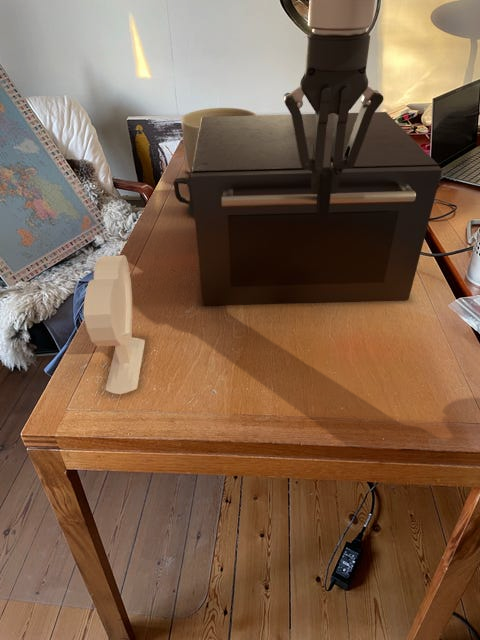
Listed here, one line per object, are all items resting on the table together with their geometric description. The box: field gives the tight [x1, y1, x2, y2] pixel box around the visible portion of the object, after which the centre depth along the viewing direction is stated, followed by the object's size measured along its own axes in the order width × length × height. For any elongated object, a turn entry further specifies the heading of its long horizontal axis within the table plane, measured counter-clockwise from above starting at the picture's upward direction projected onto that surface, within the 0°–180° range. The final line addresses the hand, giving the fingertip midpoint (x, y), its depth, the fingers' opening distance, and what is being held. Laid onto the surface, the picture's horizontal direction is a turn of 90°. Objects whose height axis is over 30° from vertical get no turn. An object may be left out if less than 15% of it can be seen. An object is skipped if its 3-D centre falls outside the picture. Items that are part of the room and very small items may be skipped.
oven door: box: [191, 165, 443, 306], centre depth 80 cm, size 5×40×26 cm, turn 91°
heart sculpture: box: [83, 254, 146, 395], centre depth 71 cm, size 16×5×18 cm, turn 3°
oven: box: [192, 111, 439, 173], centre depth 95 cm, size 32×40×26 cm
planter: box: [180, 107, 258, 171], centre depth 130 cm, size 21×21×19 cm
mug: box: [173, 169, 195, 218], centre depth 119 cm, size 12×9×11 cm
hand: (322, 213), depth 69 cm, fingers closed
